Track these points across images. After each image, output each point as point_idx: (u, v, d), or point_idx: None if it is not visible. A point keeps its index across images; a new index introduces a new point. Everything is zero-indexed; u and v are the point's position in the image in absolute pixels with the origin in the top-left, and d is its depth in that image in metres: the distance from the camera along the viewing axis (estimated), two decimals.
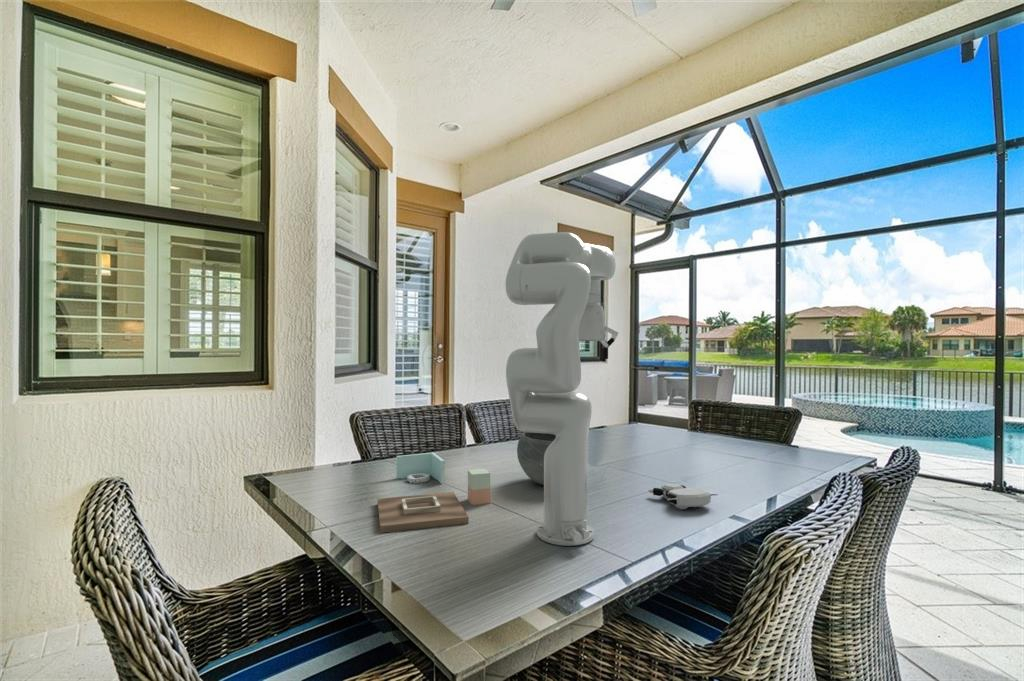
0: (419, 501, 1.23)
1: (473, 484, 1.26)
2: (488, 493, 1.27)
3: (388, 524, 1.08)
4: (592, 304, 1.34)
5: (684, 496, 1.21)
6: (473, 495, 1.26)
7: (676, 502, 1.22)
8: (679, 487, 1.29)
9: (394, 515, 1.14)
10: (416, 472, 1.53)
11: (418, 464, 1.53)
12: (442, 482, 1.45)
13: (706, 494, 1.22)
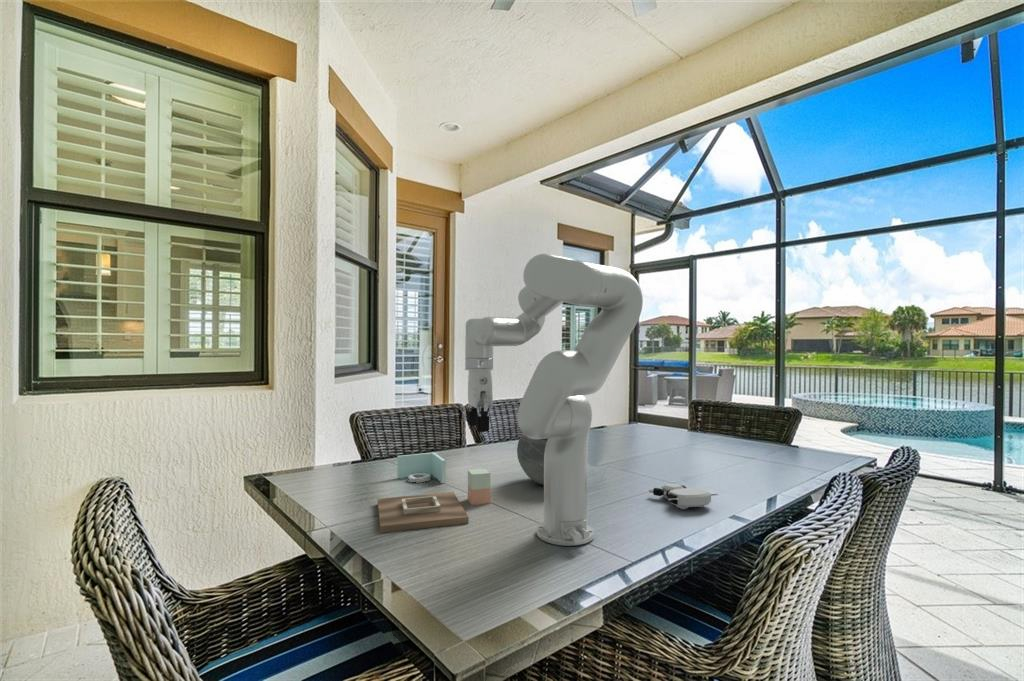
0: (419, 501, 1.23)
1: (473, 484, 1.26)
2: (488, 493, 1.27)
3: (388, 524, 1.08)
4: None
5: (685, 496, 1.21)
6: (473, 495, 1.26)
7: (677, 502, 1.22)
8: (679, 487, 1.29)
9: (394, 515, 1.14)
10: (417, 472, 1.53)
11: (419, 464, 1.54)
12: (443, 482, 1.45)
13: (707, 494, 1.23)
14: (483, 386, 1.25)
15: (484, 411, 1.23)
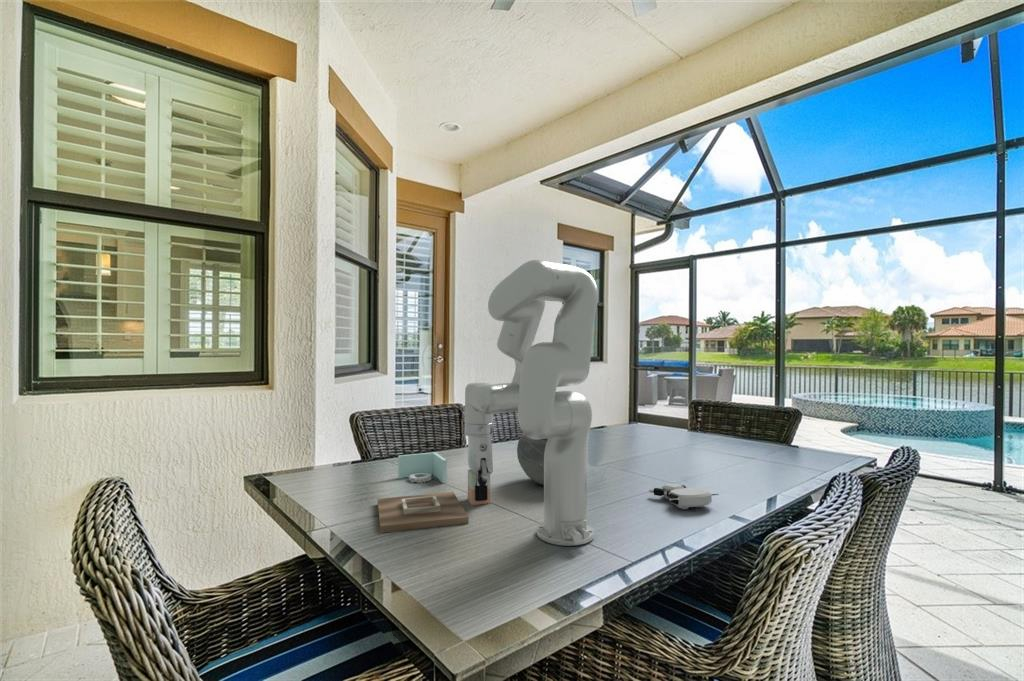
0: (419, 501, 1.23)
1: (473, 484, 1.26)
2: (488, 493, 1.27)
3: (388, 524, 1.08)
4: None
5: (686, 496, 1.21)
6: (473, 495, 1.26)
7: (678, 502, 1.22)
8: (680, 487, 1.29)
9: (394, 515, 1.14)
10: (418, 472, 1.54)
11: (420, 463, 1.54)
12: (444, 481, 1.46)
13: (707, 494, 1.23)
14: (483, 453, 1.25)
15: (482, 481, 1.24)
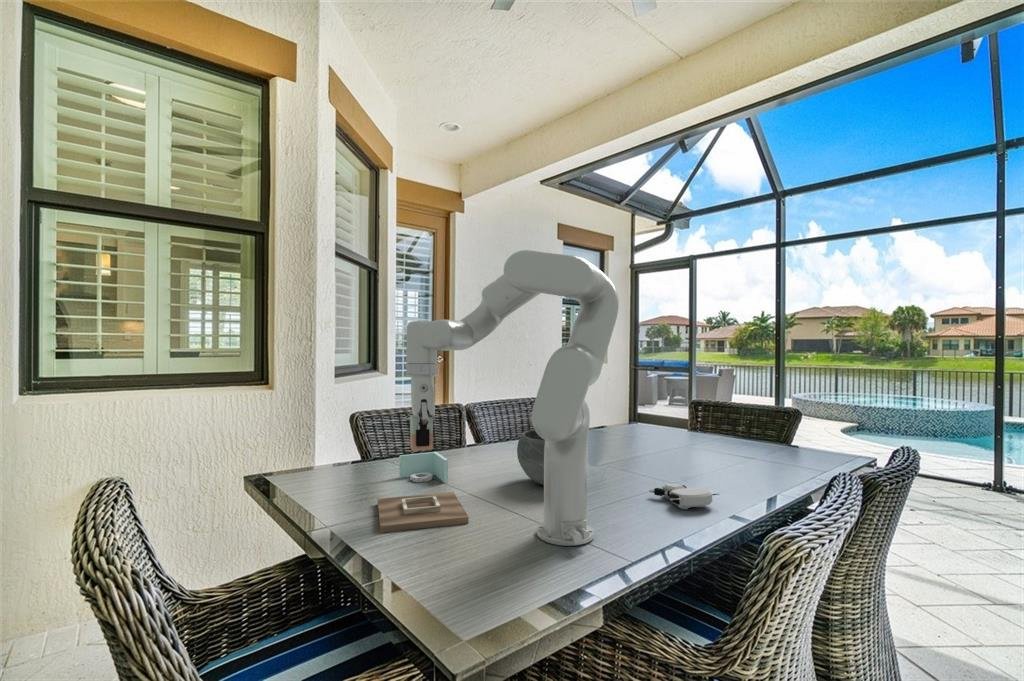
0: (419, 501, 1.23)
1: (414, 428, 1.17)
2: (430, 438, 1.18)
3: (388, 524, 1.08)
4: None
5: (687, 496, 1.21)
6: (414, 440, 1.17)
7: (679, 502, 1.22)
8: (680, 487, 1.30)
9: (394, 515, 1.14)
10: (419, 471, 1.54)
11: (421, 463, 1.54)
12: (445, 481, 1.46)
13: (708, 494, 1.23)
14: (424, 394, 1.15)
15: (422, 424, 1.15)
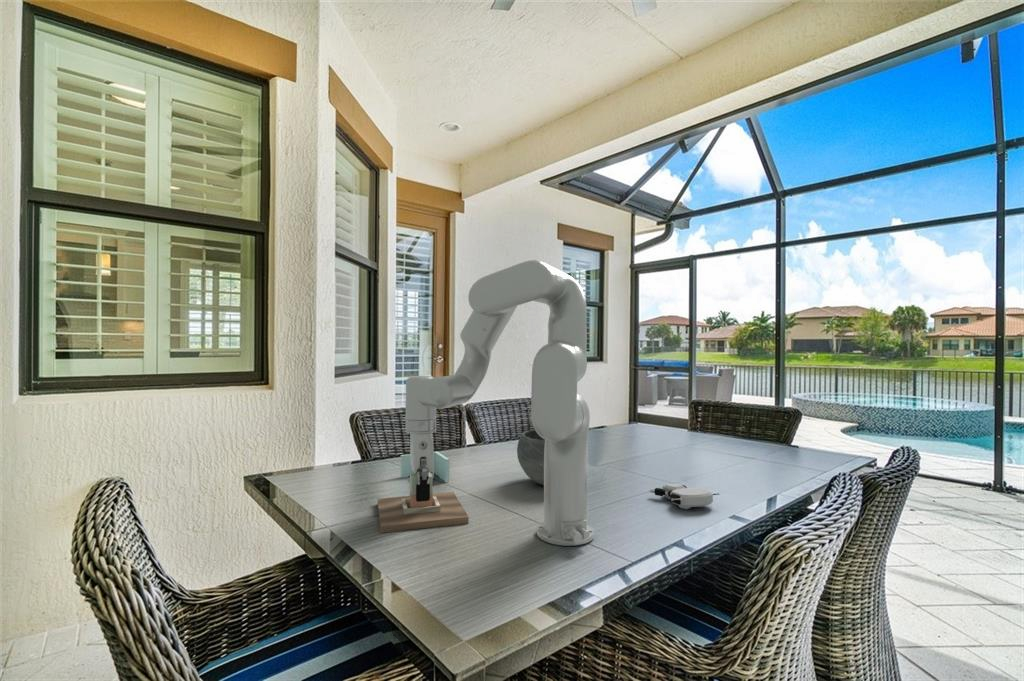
0: None
1: (413, 489, 1.17)
2: (430, 498, 1.18)
3: (388, 524, 1.08)
4: None
5: (688, 496, 1.21)
6: (413, 501, 1.17)
7: (680, 502, 1.22)
8: (681, 487, 1.30)
9: (394, 515, 1.14)
10: None
11: None
12: (447, 480, 1.47)
13: (709, 494, 1.23)
14: (423, 451, 1.15)
15: (423, 480, 1.13)
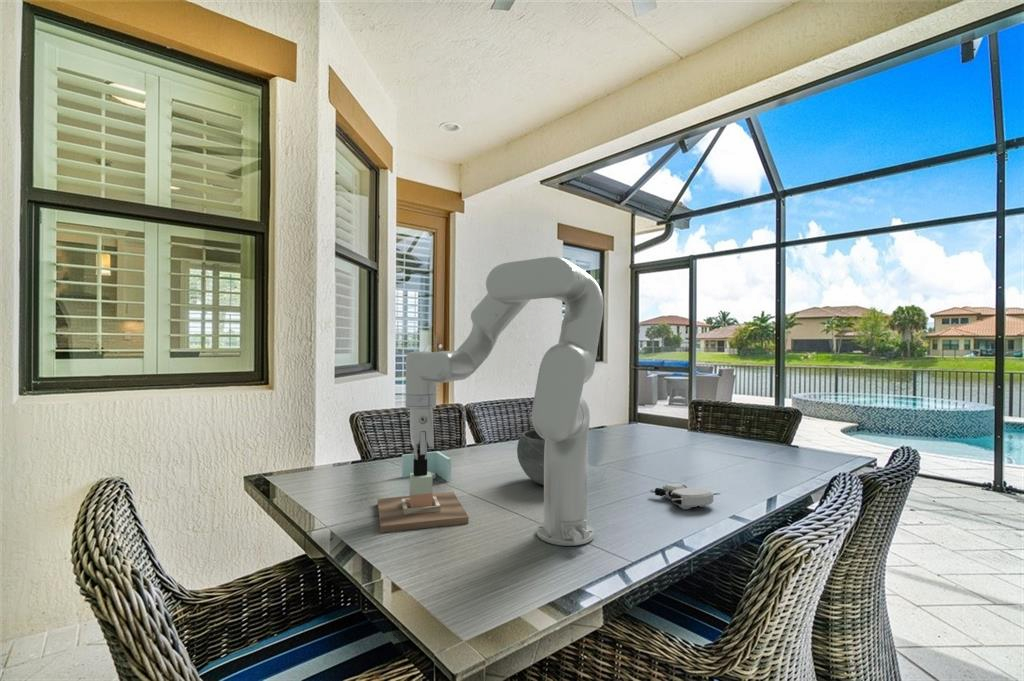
0: None
1: (413, 489, 1.17)
2: (430, 498, 1.18)
3: (388, 524, 1.08)
4: None
5: (689, 496, 1.21)
6: (413, 501, 1.17)
7: (681, 502, 1.22)
8: (681, 487, 1.30)
9: (394, 515, 1.14)
10: None
11: None
12: (448, 480, 1.47)
13: (709, 493, 1.23)
14: (423, 426, 1.15)
15: None
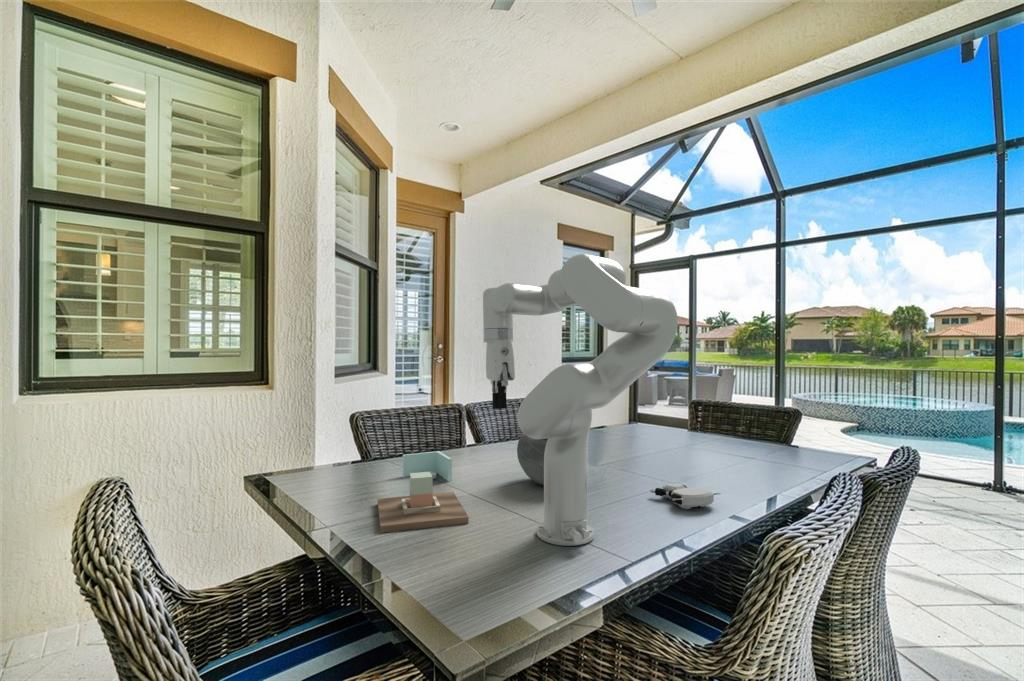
0: None
1: (413, 489, 1.17)
2: (430, 498, 1.18)
3: (388, 524, 1.08)
4: None
5: (689, 496, 1.21)
6: (413, 501, 1.17)
7: (681, 502, 1.22)
8: (681, 487, 1.30)
9: (394, 515, 1.14)
10: (422, 470, 1.55)
11: (424, 462, 1.56)
12: (449, 480, 1.48)
13: (710, 493, 1.23)
14: (505, 357, 1.19)
15: None
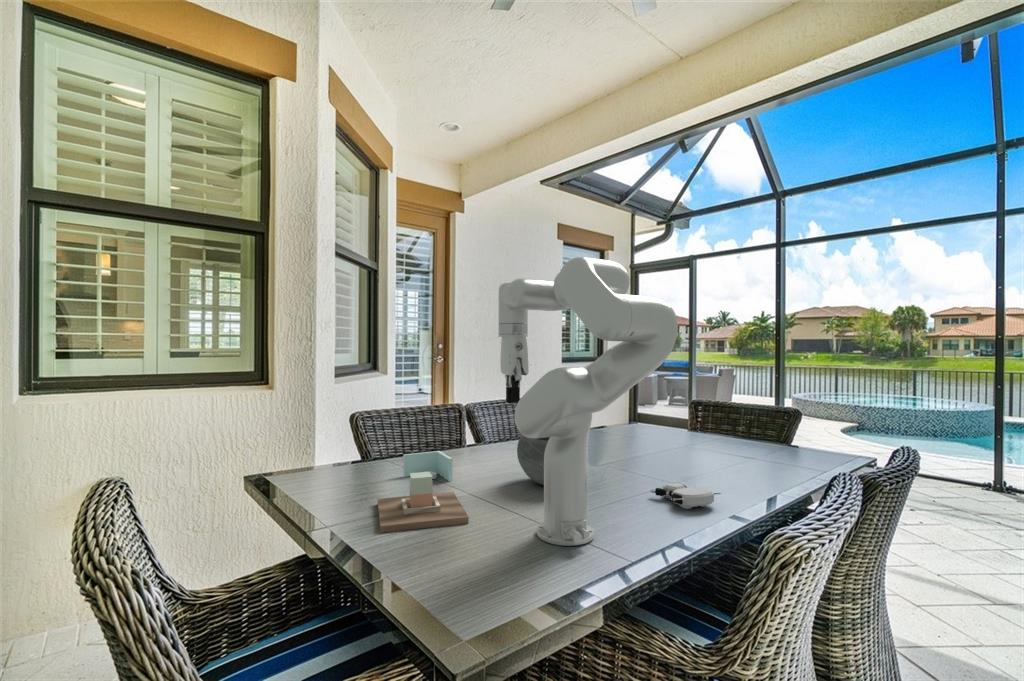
0: None
1: (413, 489, 1.17)
2: (430, 498, 1.18)
3: (388, 524, 1.08)
4: None
5: (690, 496, 1.21)
6: (413, 501, 1.17)
7: (682, 502, 1.22)
8: (681, 487, 1.30)
9: (394, 515, 1.14)
10: (423, 470, 1.55)
11: (425, 462, 1.56)
12: (450, 479, 1.48)
13: (710, 493, 1.23)
14: (519, 352, 1.19)
15: None
